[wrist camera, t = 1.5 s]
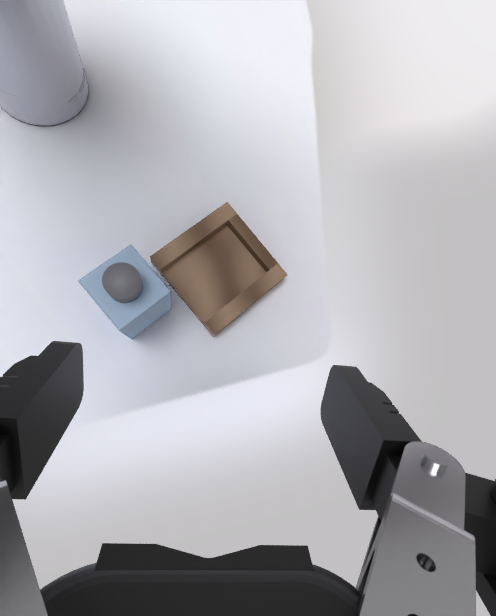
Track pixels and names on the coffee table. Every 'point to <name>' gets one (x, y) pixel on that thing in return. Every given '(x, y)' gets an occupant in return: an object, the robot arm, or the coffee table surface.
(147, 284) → the plug block
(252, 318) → the coffee table surface
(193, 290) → the slot board
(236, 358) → the coffee table surface
